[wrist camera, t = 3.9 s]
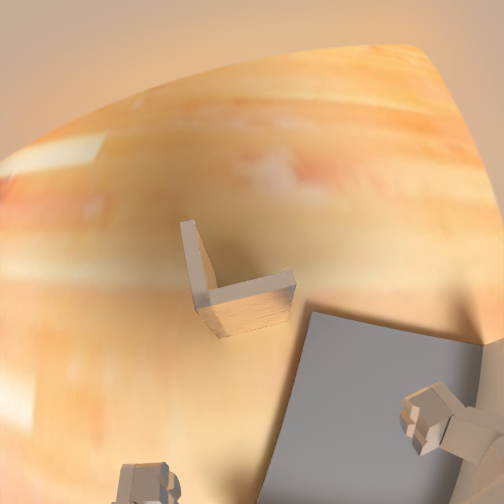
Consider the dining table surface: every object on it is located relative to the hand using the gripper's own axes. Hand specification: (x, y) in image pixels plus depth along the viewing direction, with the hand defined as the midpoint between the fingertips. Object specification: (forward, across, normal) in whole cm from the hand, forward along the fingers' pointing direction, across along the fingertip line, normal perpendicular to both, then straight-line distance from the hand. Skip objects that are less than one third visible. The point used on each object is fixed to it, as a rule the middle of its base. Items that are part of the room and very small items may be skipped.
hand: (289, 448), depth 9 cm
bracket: (+15, 0, +2) cm, 15 cm away
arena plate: (+5, -7, +12) cm, 15 cm away
